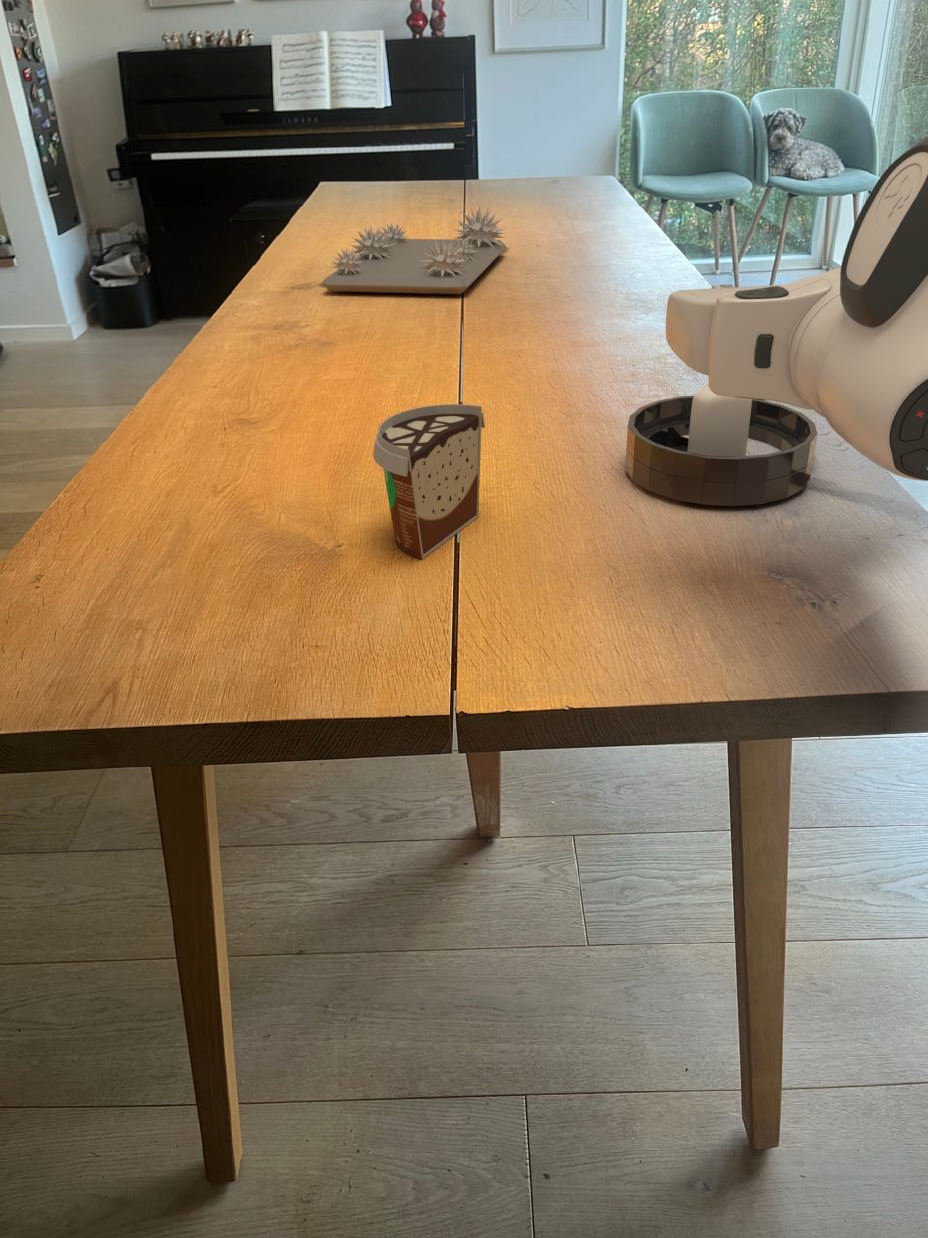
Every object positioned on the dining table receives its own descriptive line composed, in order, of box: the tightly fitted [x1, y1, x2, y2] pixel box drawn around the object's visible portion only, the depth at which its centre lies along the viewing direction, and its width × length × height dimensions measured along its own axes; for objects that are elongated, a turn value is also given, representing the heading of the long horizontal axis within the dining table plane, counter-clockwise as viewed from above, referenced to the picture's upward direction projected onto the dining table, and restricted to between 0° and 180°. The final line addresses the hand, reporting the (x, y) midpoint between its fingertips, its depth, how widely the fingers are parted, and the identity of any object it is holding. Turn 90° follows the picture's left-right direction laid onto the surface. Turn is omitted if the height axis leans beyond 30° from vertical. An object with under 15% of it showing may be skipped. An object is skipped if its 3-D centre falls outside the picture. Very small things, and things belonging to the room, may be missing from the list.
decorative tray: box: [321, 205, 507, 295], centre depth 174 cm, size 35×26×10 cm
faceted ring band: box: [624, 395, 818, 507], centre depth 94 cm, size 17×17×5 cm
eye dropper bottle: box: [687, 383, 752, 457], centre depth 92 cm, size 4×6×12 cm
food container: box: [372, 403, 486, 560], centre depth 84 cm, size 12×6×10 cm, turn 149°
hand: (780, 291), depth 76 cm, fingers open, 8 cm apart
